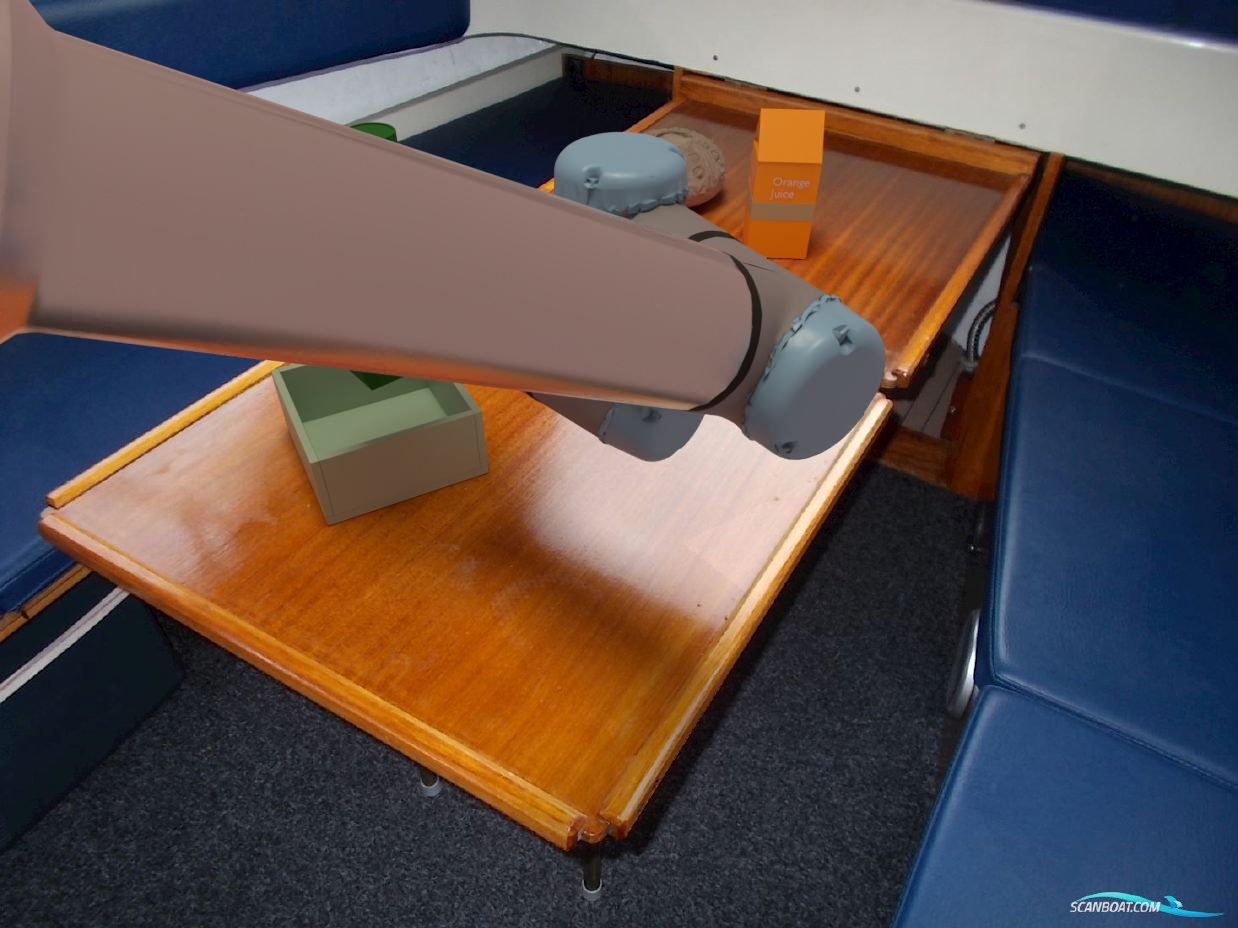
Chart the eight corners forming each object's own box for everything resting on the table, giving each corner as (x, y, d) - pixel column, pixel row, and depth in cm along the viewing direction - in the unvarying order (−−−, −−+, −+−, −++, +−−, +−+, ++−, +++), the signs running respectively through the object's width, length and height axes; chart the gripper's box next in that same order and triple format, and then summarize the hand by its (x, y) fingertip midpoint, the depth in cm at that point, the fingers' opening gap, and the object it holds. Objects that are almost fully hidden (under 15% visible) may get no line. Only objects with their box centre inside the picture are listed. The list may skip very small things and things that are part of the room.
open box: (328, 526, 83) (309, 463, 78) (288, 430, 94) (270, 369, 88) (488, 472, 89) (481, 411, 84) (434, 388, 100) (424, 329, 95)
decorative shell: (654, 231, 131) (657, 167, 125) (592, 190, 142) (592, 129, 136) (744, 205, 139) (752, 143, 132) (679, 168, 150) (683, 109, 143)
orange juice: (741, 234, 131) (757, 98, 118) (799, 236, 131) (822, 100, 118) (745, 258, 125) (762, 119, 112) (806, 260, 125) (830, 121, 112)
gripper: (400, 439, 58) (226, 318, 69) (615, 315, 71) (439, 229, 82) (381, 345, 53) (198, 231, 64) (617, 230, 66) (429, 151, 77)
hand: (333, 230), depth 73 cm, fingers closed on soya milk, 9 cm apart
